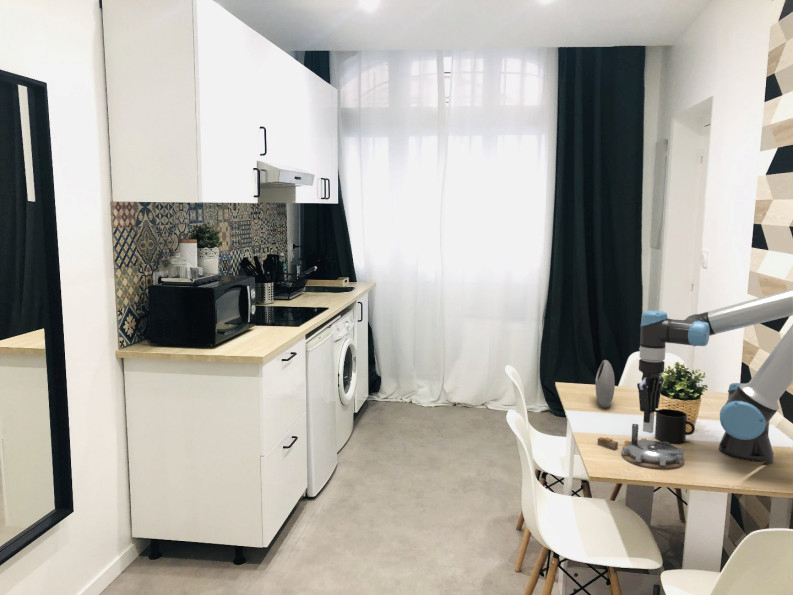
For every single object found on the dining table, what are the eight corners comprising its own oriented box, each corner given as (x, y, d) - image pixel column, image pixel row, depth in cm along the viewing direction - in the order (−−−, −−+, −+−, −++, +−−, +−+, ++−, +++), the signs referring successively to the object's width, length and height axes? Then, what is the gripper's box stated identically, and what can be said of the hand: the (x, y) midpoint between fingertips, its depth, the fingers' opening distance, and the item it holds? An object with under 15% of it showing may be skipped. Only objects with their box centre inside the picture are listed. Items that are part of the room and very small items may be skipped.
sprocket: (694, 455, 192) (696, 430, 191) (667, 470, 181) (668, 443, 180) (639, 440, 206) (640, 416, 205) (610, 453, 194) (611, 428, 193)
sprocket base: (694, 459, 192) (694, 456, 192) (667, 474, 181) (667, 472, 181) (639, 444, 206) (639, 441, 206) (610, 457, 194) (610, 454, 194)
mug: (692, 447, 203) (693, 420, 202) (652, 440, 209) (653, 414, 208) (695, 439, 211) (697, 412, 210) (657, 432, 217) (658, 407, 216)
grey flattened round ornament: (593, 400, 257) (595, 355, 255) (611, 401, 255) (613, 356, 253) (595, 413, 239) (597, 365, 237) (615, 414, 237) (617, 366, 235)
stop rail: (617, 449, 201) (618, 440, 200) (614, 450, 200) (614, 442, 199) (600, 444, 205) (601, 435, 205) (597, 445, 204) (597, 437, 204)
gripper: (650, 355, 206) (646, 424, 209) (630, 360, 197) (626, 433, 200) (673, 358, 200) (669, 430, 203) (653, 364, 192) (649, 439, 195)
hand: (648, 431), depth 202 cm, fingers closed
